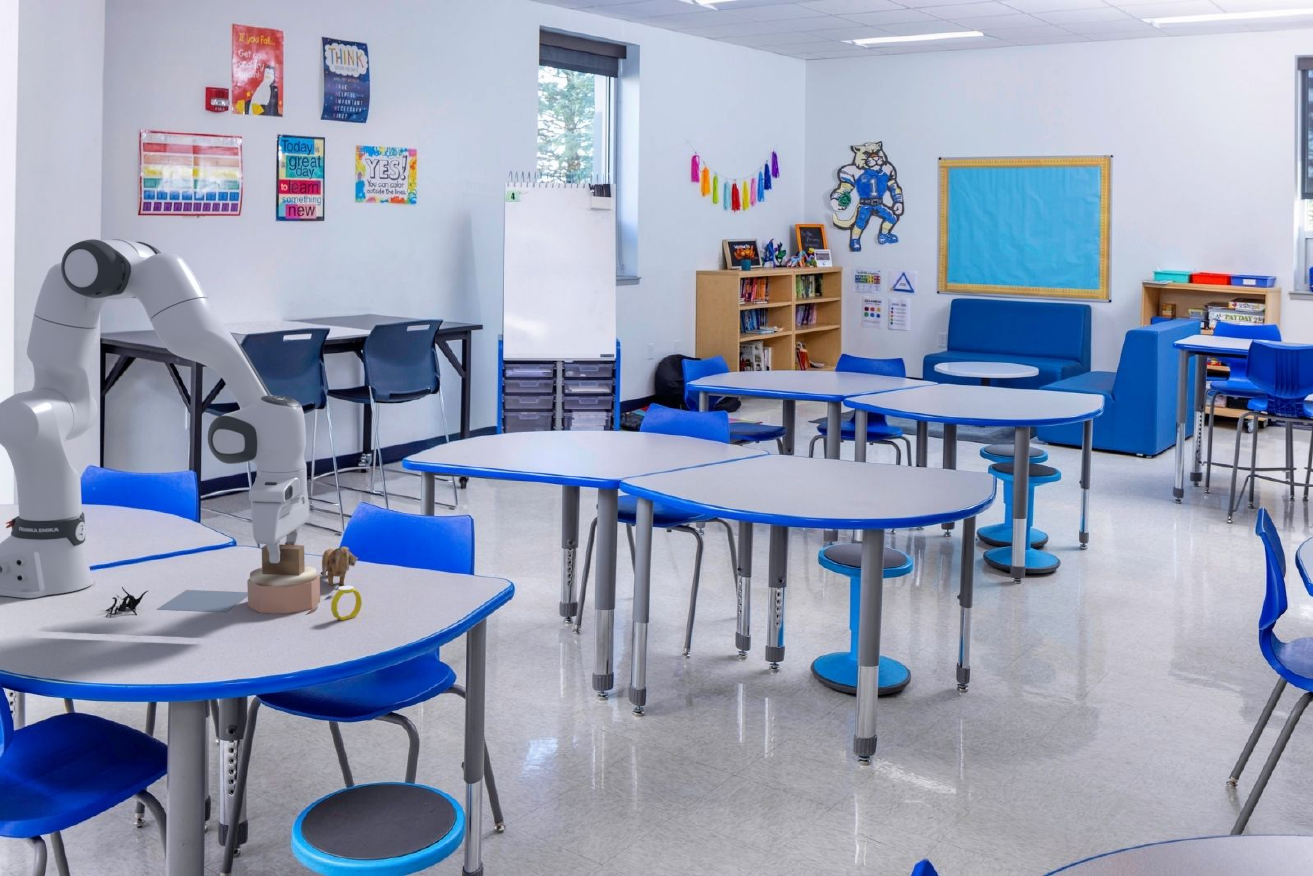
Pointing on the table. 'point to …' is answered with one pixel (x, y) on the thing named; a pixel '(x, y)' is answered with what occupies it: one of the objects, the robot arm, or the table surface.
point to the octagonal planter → (284, 597)
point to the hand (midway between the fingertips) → (283, 556)
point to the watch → (337, 596)
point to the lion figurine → (337, 563)
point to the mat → (205, 601)
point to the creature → (130, 604)
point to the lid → (284, 568)
